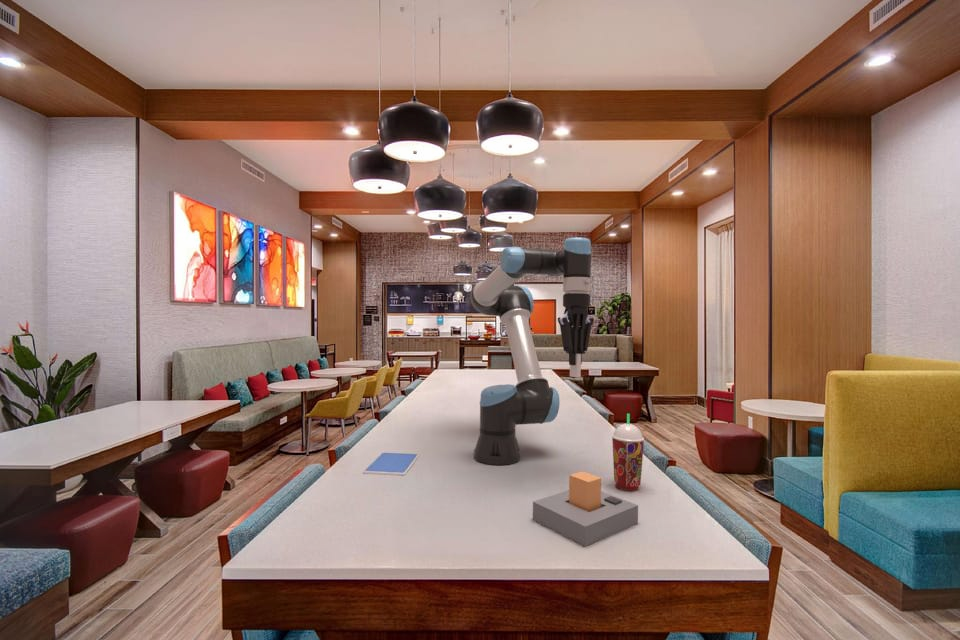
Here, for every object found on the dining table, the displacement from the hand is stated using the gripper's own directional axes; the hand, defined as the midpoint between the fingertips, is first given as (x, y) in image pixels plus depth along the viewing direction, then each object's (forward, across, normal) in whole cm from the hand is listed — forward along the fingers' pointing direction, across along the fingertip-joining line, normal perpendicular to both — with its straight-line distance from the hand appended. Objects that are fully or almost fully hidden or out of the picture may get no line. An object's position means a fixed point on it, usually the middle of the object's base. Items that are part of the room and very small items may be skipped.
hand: (575, 376), depth 127 cm
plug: (+29, -18, -19) cm, 39 cm away
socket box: (+29, -18, -19) cm, 39 cm away
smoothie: (+30, +8, -12) cm, 33 cm away
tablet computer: (+30, -36, +41) cm, 62 cm away
